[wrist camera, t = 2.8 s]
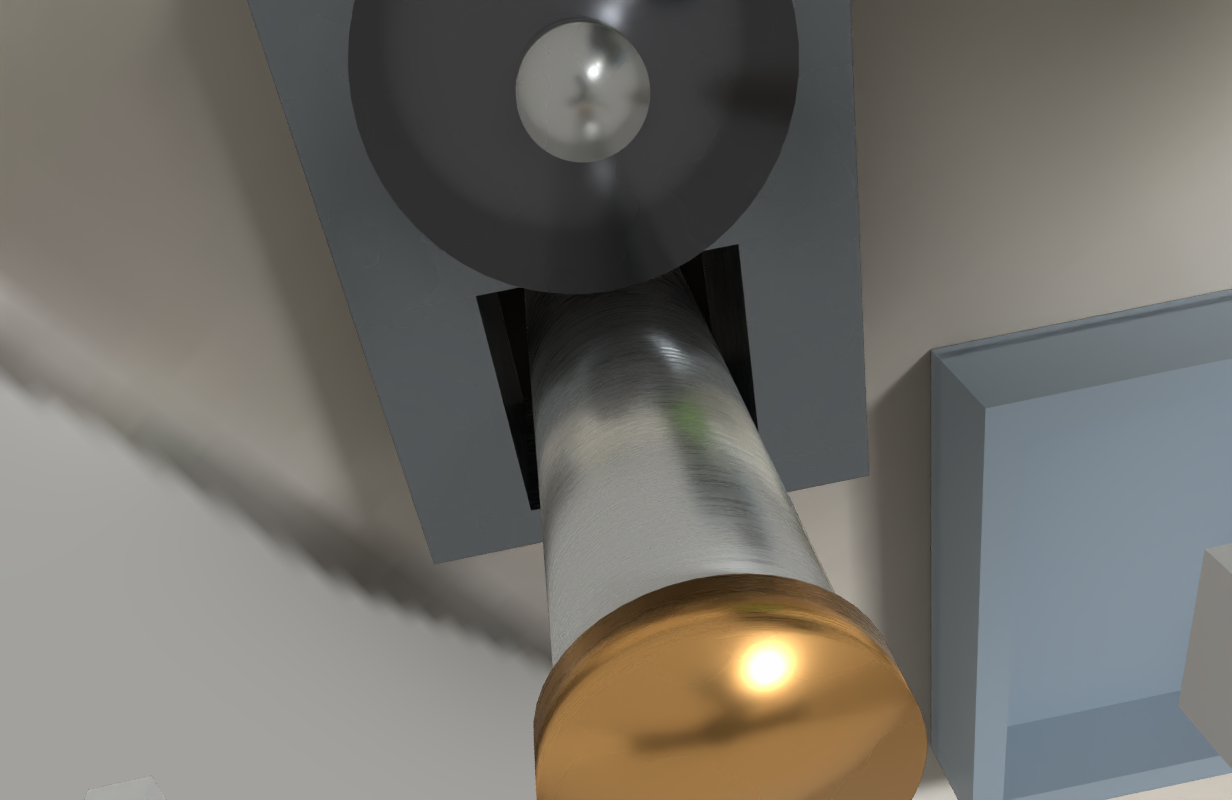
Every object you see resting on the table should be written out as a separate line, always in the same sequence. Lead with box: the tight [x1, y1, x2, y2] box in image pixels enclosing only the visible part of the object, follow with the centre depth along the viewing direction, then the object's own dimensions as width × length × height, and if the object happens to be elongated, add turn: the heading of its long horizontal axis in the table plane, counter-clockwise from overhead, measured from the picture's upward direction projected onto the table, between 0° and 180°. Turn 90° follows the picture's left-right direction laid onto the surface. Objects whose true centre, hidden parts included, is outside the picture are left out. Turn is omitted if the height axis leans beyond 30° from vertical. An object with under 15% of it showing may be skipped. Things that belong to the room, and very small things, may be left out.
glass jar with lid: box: [524, 267, 927, 800], centre depth 18 cm, size 5×5×15 cm
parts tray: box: [931, 289, 1232, 800], centre depth 29 cm, size 16×13×3 cm
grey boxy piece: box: [247, 0, 869, 564], centre depth 19 cm, size 14×10×8 cm
